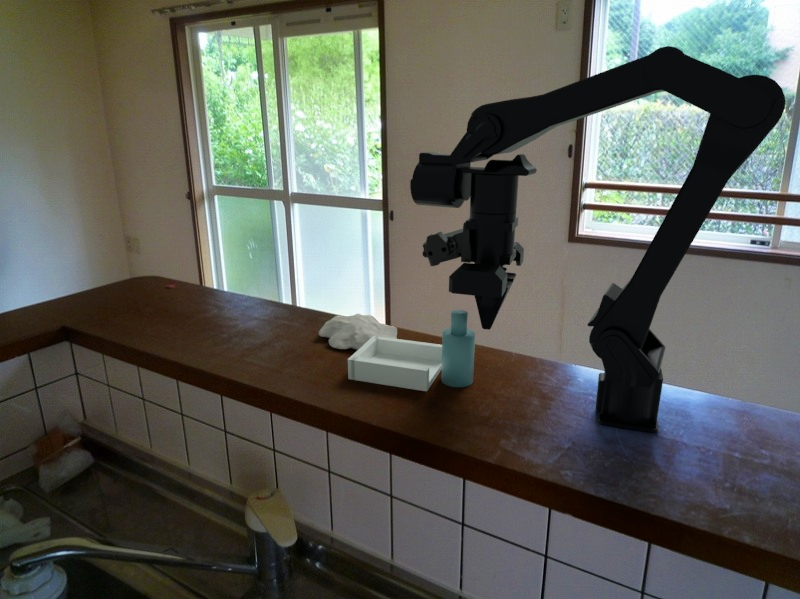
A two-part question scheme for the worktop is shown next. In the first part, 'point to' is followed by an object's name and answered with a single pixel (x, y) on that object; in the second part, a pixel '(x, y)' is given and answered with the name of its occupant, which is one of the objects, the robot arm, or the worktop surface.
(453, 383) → the bottle
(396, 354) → the u rest
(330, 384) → the worktop surface
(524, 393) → the worktop surface
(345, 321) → the decorative stone
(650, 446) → the worktop surface
